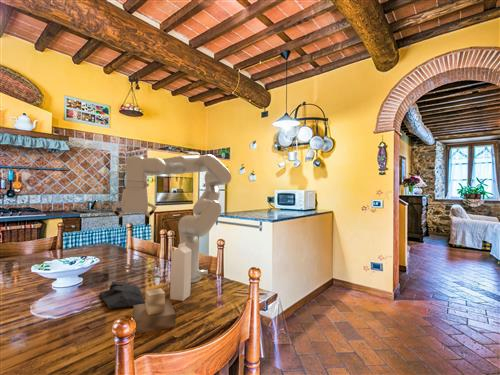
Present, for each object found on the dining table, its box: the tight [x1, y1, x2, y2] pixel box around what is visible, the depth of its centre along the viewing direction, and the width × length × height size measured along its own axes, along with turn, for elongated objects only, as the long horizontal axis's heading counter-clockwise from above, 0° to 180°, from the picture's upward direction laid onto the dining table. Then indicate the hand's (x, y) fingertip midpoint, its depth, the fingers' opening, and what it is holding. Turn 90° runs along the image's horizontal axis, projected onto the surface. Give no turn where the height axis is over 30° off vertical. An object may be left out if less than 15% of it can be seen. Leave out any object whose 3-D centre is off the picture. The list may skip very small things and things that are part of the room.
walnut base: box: [132, 299, 177, 335], centre depth 85 cm, size 12×12×4 cm
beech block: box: [144, 287, 166, 315], centre depth 85 cm, size 5×5×6 cm
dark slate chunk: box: [99, 281, 145, 310], centre depth 103 cm, size 15×22×5 cm
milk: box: [169, 242, 192, 302], centre depth 106 cm, size 6×6×22 cm
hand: (134, 226), depth 108 cm, fingers open, 9 cm apart
